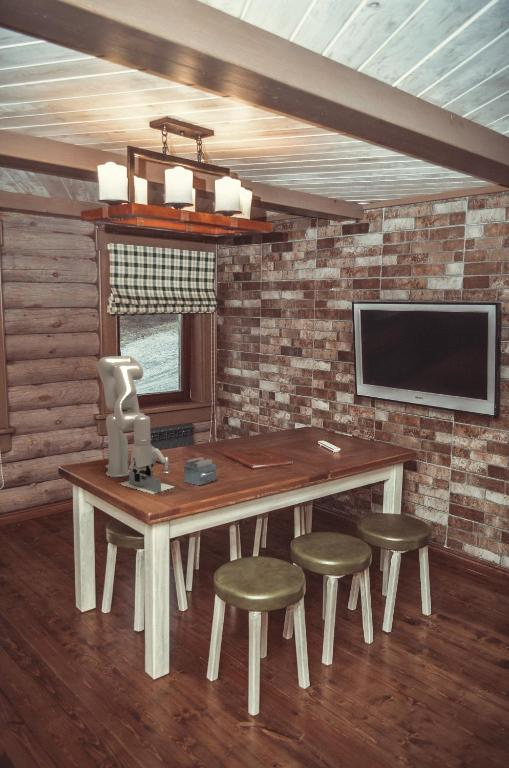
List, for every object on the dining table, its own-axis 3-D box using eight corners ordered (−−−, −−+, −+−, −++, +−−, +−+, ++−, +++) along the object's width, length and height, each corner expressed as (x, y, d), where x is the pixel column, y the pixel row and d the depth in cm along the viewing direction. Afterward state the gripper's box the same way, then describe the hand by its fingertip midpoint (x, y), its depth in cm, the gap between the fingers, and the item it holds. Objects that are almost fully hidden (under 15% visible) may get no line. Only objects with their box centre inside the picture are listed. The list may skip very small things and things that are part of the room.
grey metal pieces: (155, 474, 301) (155, 454, 300) (172, 469, 310) (172, 450, 309) (200, 486, 281) (200, 465, 280) (217, 481, 290) (218, 460, 289)
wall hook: (164, 464, 317) (160, 446, 317) (146, 468, 320) (142, 450, 319) (169, 461, 325) (165, 443, 325) (152, 464, 328) (148, 446, 327)
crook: (129, 484, 282) (128, 471, 282) (143, 480, 289) (143, 468, 288) (157, 492, 270) (157, 479, 269) (171, 488, 277) (171, 475, 276)
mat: (118, 484, 283) (118, 483, 283) (141, 478, 294) (141, 477, 294) (152, 494, 268) (152, 493, 268) (175, 487, 279) (174, 486, 279)
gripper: (151, 438, 284) (151, 474, 287) (122, 444, 271) (123, 482, 273) (161, 440, 280) (161, 477, 282) (133, 446, 266) (133, 485, 269)
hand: (142, 479), depth 278 cm, fingers open, 6 cm apart
